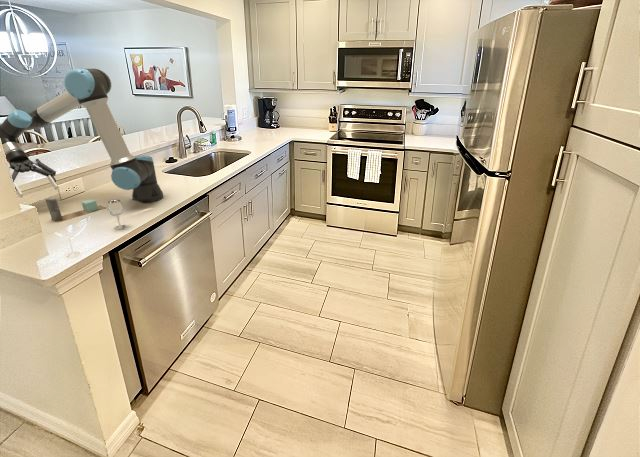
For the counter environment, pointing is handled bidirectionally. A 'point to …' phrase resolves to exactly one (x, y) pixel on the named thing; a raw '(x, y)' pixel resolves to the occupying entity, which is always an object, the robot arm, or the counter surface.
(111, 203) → the wineglass
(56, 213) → the mallet
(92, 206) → the cube
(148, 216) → the counter surface
